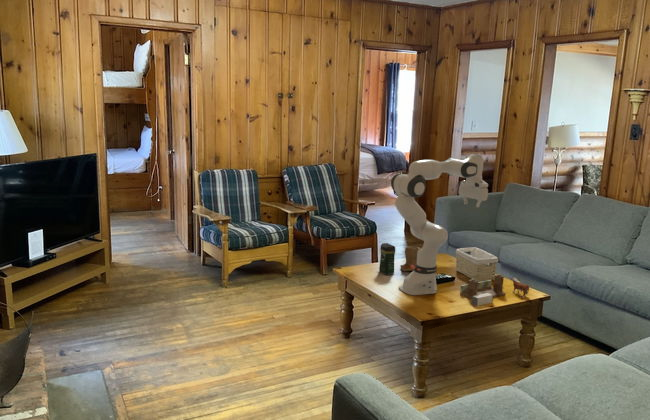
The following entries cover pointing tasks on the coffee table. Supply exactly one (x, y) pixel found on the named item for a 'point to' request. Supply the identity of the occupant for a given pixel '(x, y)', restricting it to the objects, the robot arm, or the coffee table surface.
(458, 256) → the storage basket
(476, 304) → the rail bar
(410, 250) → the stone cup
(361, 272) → the coffee table surface
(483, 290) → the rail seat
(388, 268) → the coffee jar
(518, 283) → the bull figurine
